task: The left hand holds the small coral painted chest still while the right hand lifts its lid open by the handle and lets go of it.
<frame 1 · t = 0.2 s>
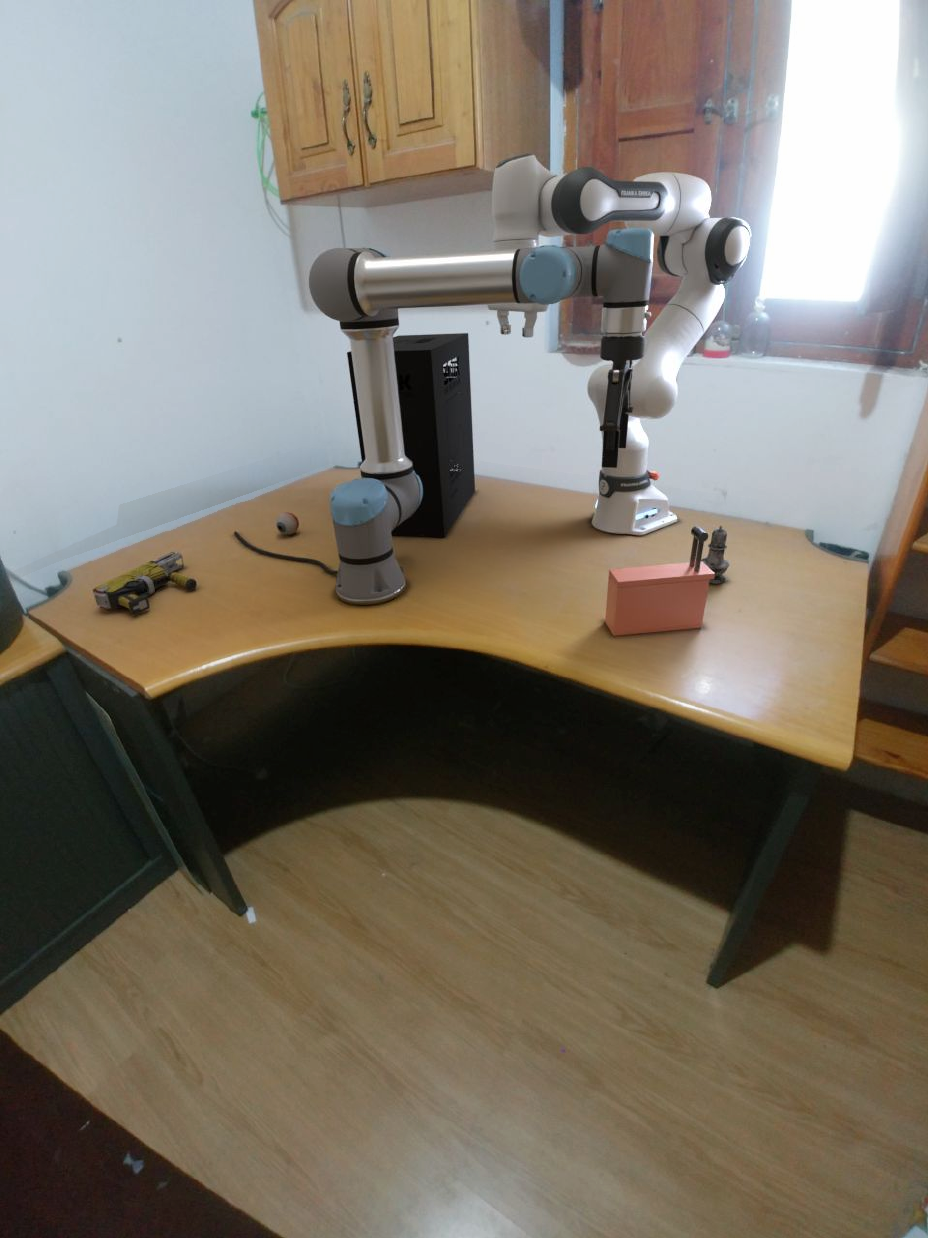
left hand: (614, 457, 115), 28 cm above the table, tool pointing down, fingers open, 13 cm apart
right hand: (516, 335, 125), 48 cm above the table, tool pointing down, fingers open, 8 cm apart
chest: (652, 624, 115), on the table
lid: (663, 554, 108), point 14 cm above the table, hinge at 0.0°
eyeball: (289, 534, 165), on the table
toy gun: (162, 591, 138), on the table
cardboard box: (427, 511, 175), on the table
salt shaker: (711, 578, 130), on the table
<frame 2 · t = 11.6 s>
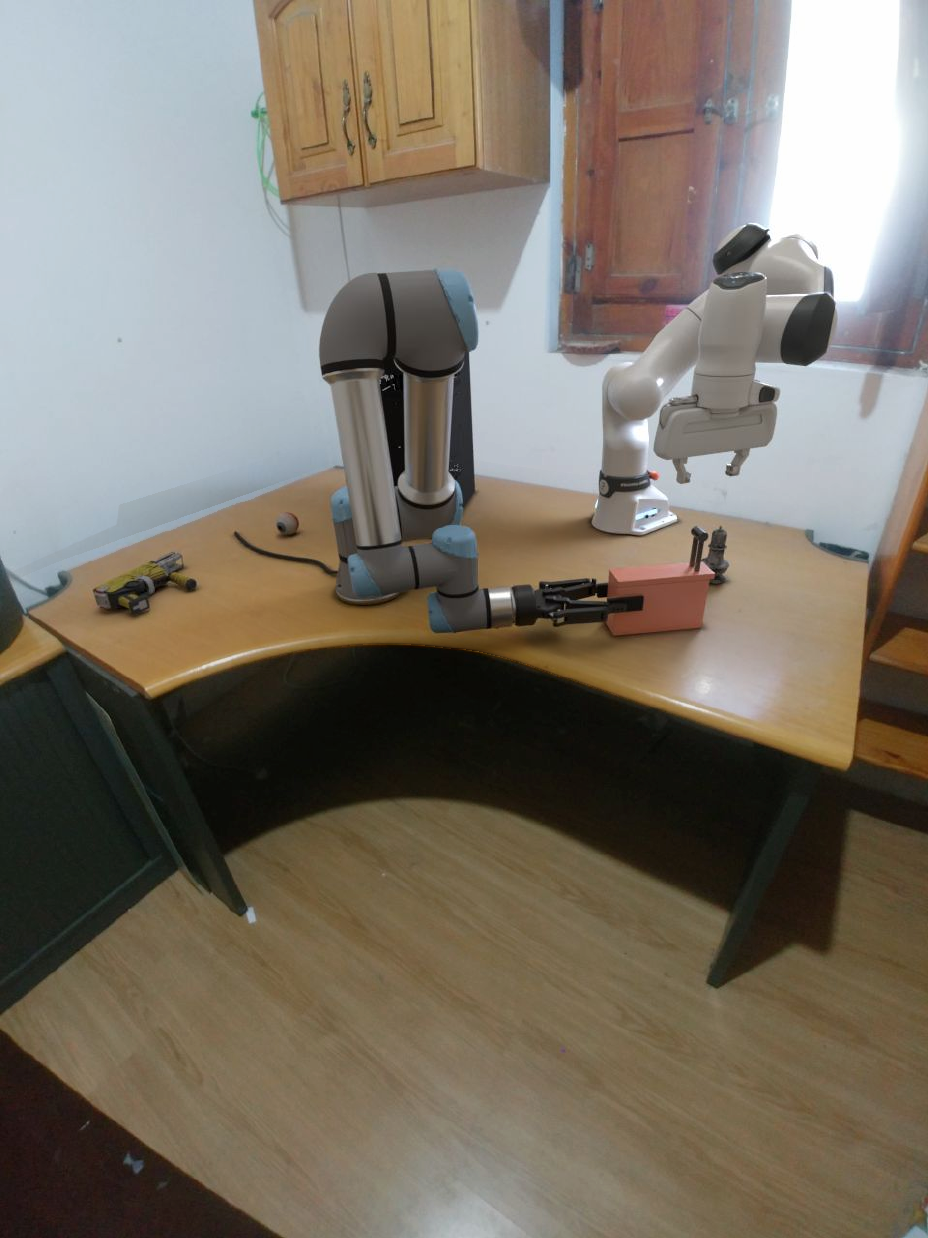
left hand: (636, 595, 111), 7 cm above the table, tool horizontal, fingers closed on chest, 5 cm apart
right hand: (707, 478, 101), 28 cm above the table, tool pointing down, fingers open, 8 cm apart
chest: (652, 624, 115), on the table, touching left hand
everything else where it was.
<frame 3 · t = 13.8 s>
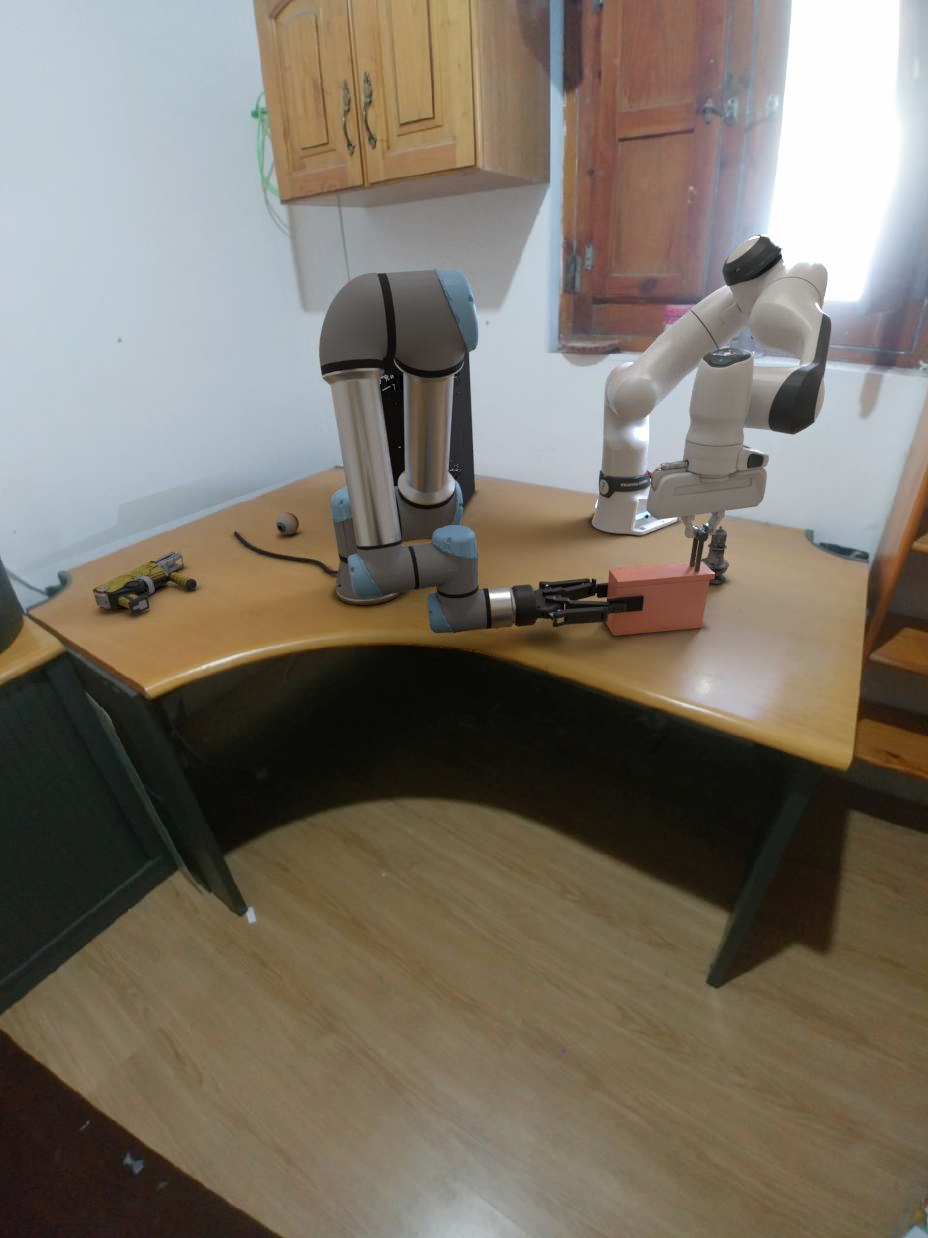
left hand: (636, 595, 111), 7 cm above the table, tool horizontal, fingers closed on chest, 5 cm apart
right hand: (699, 535, 106), 18 cm above the table, tool pointing down, fingers closed on lid, 2 cm apart
chest: (652, 624, 115), on the table, touching left hand
lid: (663, 554, 107), point 14 cm above the table, hinge at -0.1°, touching right hand
everything else where it was.
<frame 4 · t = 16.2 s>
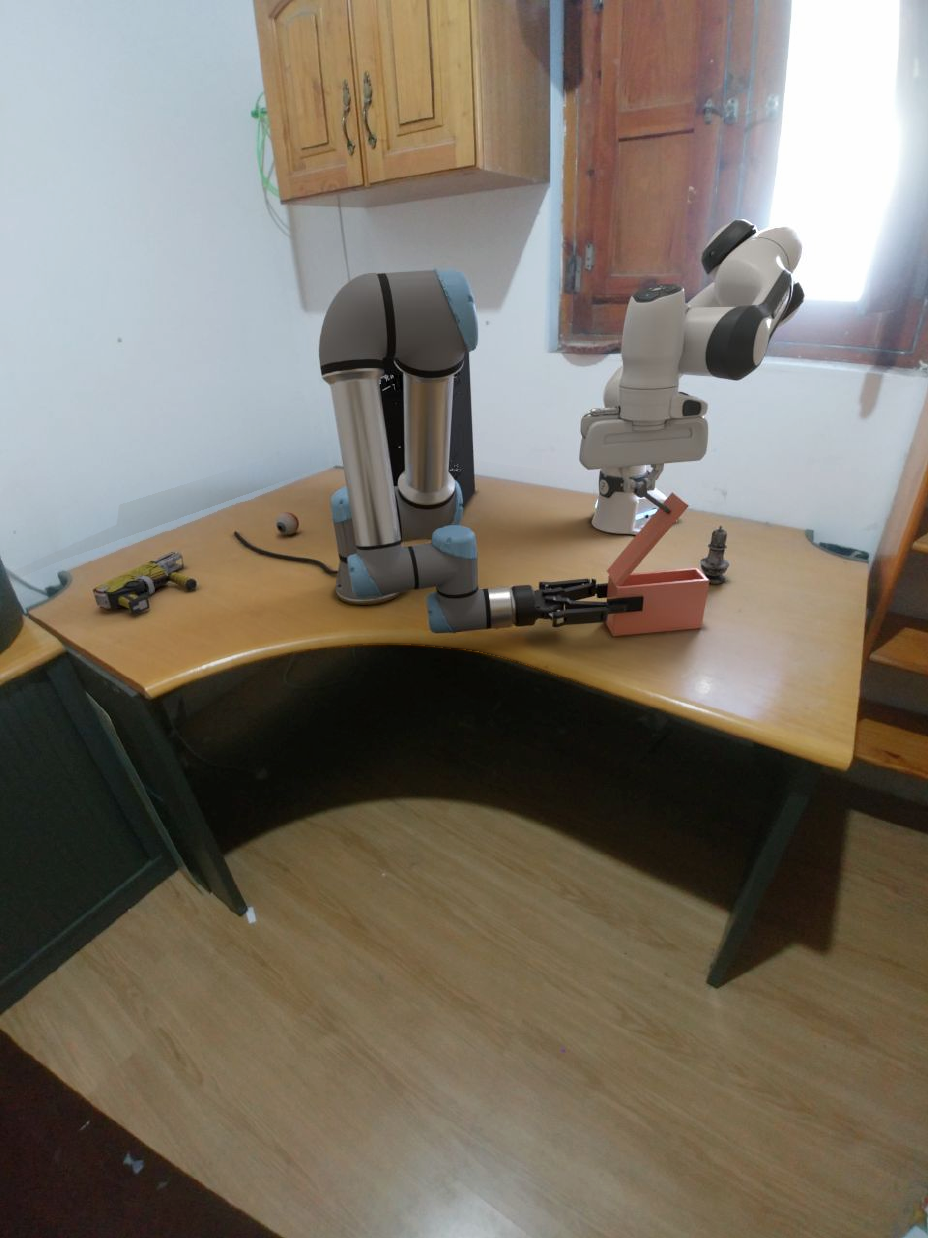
left hand: (636, 595, 111), 7 cm above the table, tool horizontal, fingers closed on chest, 5 cm apart
right hand: (638, 490, 101), 27 cm above the table, tool pointing down, fingers closed on lid, 2 cm apart
chest: (652, 624, 115), on the table, touching left hand
lid: (629, 529, 104), point 20 cm above the table, hinge at 53.1°, touching right hand
everything else where it was.
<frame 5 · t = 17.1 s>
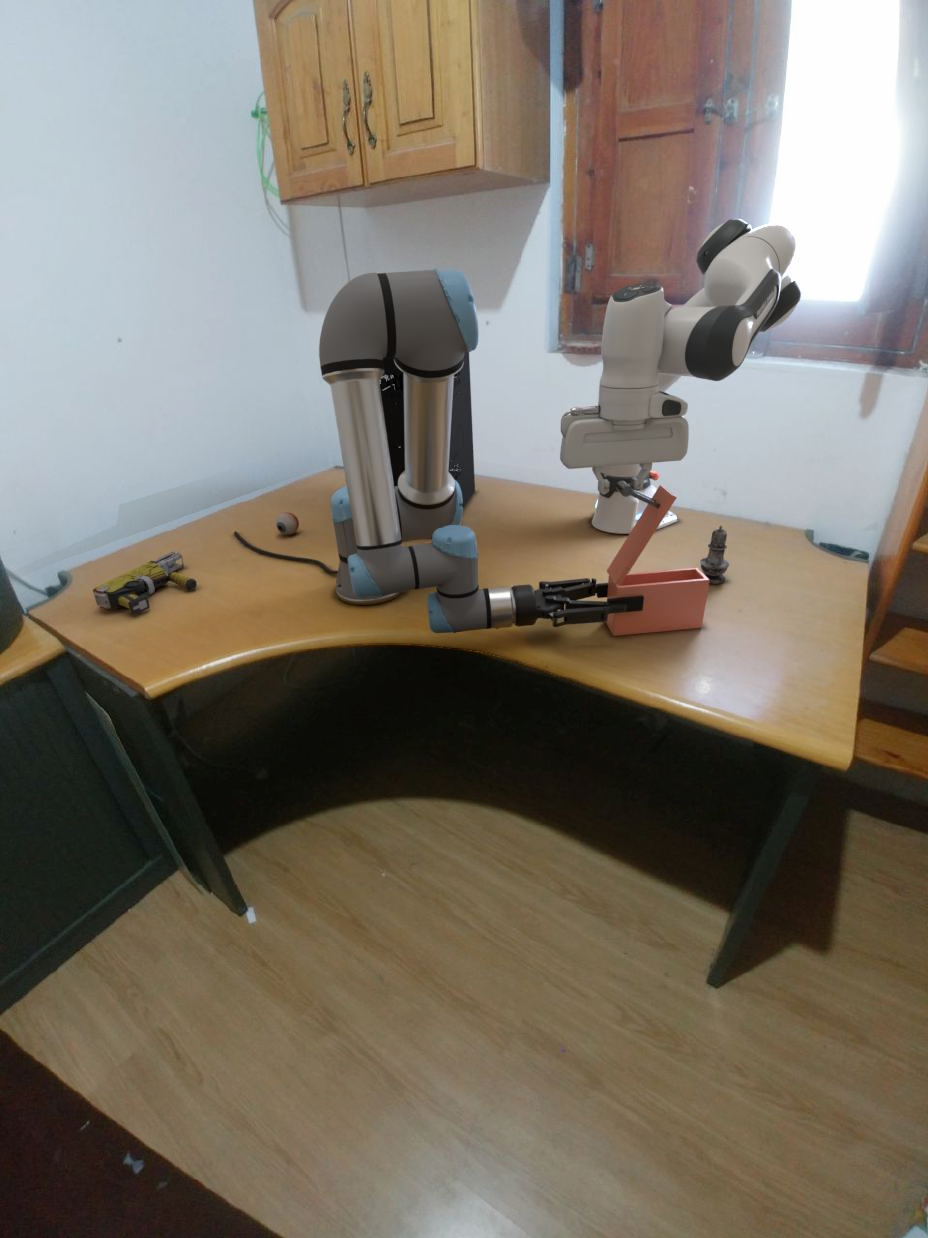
left hand: (636, 595, 111), 7 cm above the table, tool horizontal, fingers closed on chest, 5 cm apart
right hand: (619, 490, 101), 27 cm above the table, tool pointing down, fingers open, 4 cm apart
chest: (652, 624, 115), on the table, touching left hand
lid: (621, 528, 104), point 20 cm above the table, hinge at 61.9°
everything else where it was.
when the left hand's fingers open (7 cm above the table, at t = 20.8 s): chest stays where it is, on the table.
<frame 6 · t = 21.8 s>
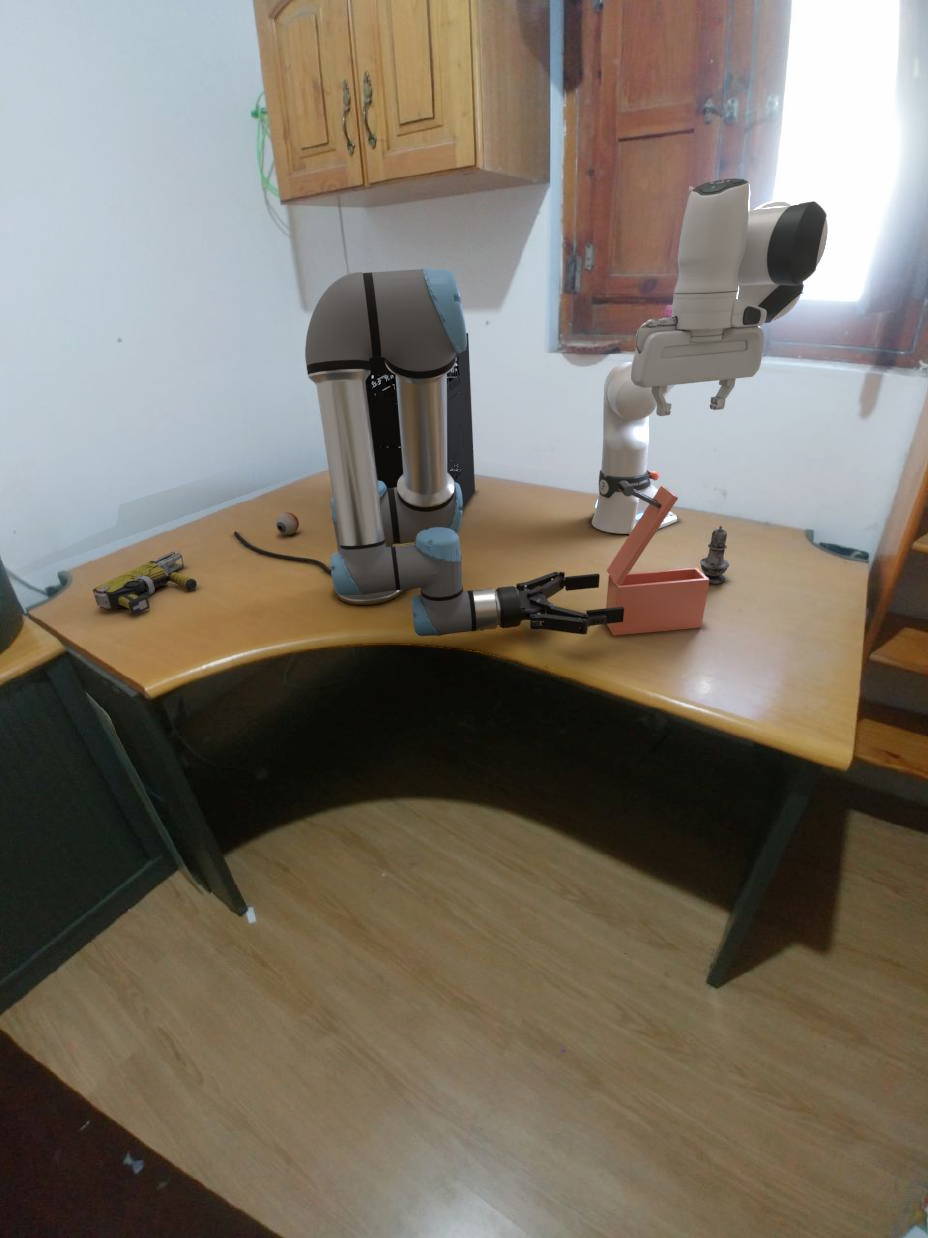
left hand: (610, 596, 111), 7 cm above the table, tool horizontal, fingers open, 13 cm apart
right hand: (690, 412, 95), 39 cm above the table, tool pointing down, fingers open, 8 cm apart
chest: (652, 624, 115), on the table
lid: (622, 527, 104), point 20 cm above the table, hinge at 61.1°
everything else where it was.
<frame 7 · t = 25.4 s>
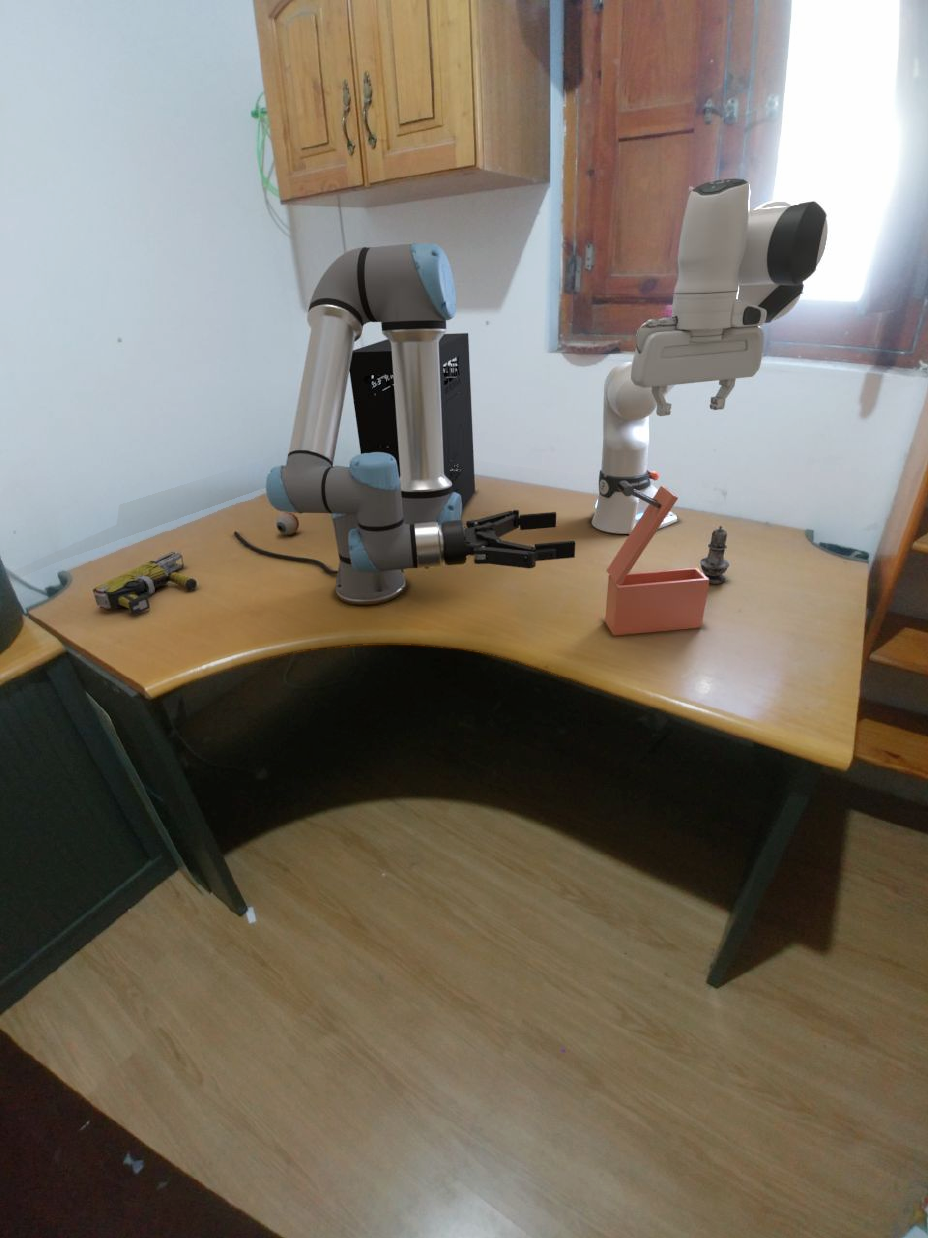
left hand: (564, 533, 104), 20 cm above the table, tool horizontal, fingers open, 13 cm apart
right hand: (690, 412, 95), 39 cm above the table, tool pointing down, fingers open, 8 cm apart
nothing on the table moved.
at the end: lid at +61° (first picture: +0°); the left hand is holding nothing; the right hand is holding nothing; chest tilted 0°; chest never tilted more than 1° during the clip; chest moved 0.1 cm from its start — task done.
